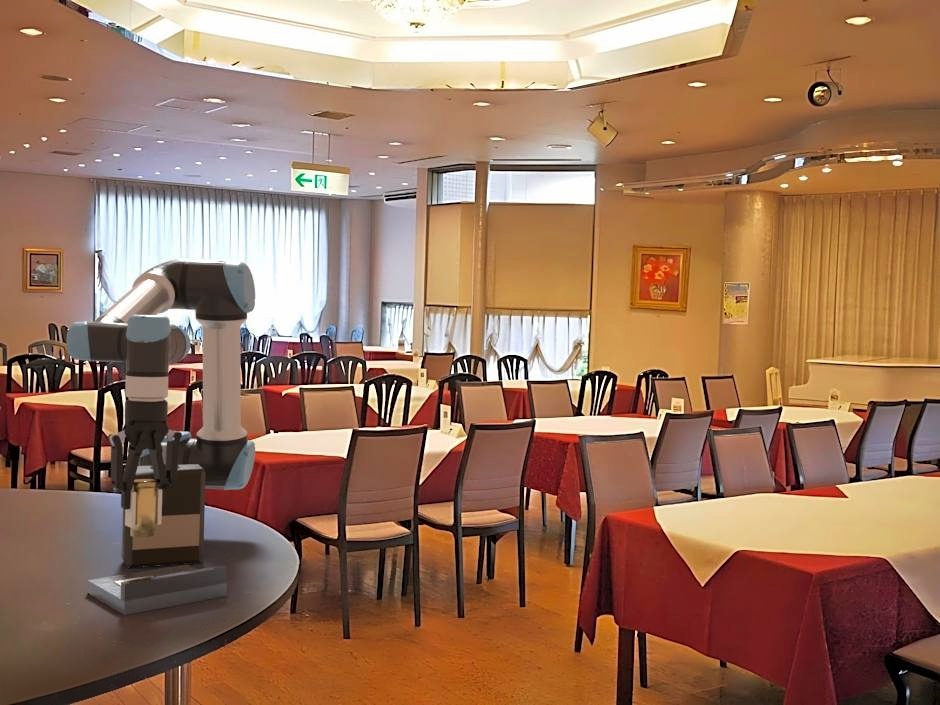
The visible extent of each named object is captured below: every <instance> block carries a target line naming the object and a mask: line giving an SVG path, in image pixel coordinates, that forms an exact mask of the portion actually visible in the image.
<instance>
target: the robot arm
mask: <svg viewBox="0 0 940 705" xmlns="http://www.w3.org/2000/svg"><path fill="white" fill-rule="evenodd" d="M251 271H252V270H251V268H250V267H249V266H248V264H247V263H245V262H243V261H239V260H230V259H205V258H204V259H202V258H201V259H197V258H196V259H195V258H194V259H193V258H176V259H171V260H168V261H165V262H162V263H160V264H157V265H155V266H152V267H151V268H149V269H147V270H146V271H144V272H142V273H141V274H140V275H139V276H138V277H136V279H135V280H134V282H133V284H132V287H131V289H130V290H128V291H127V292H126V293H125V294H124V295H123V296H122V297H120V298H119V299H118V300H117V301H115V303H113V304H112V305H111V306H110V307H109V308H108V309H106V310H105V311H104V312H103V313H101V315H99V317H97V318H96V319H95V320H94V321H88V320H84V321H75V322H72V323H71V325H70V326H69V328H68V331H67V334H66V349H67V352H68V354H69V356H70V357H71V358H72V359H74V360H77V361H88V363H89V362H109V363H115V362H116V363H125V391H124V392H125V393H124V395H125V397H126V398H128V399H126V400H125V402H124V426H123V427H122V430H121V431H119V432H117V433H114V434H113V433H110V434H109V435H108V436H107V440H108V442H109V445H110V487H112V488H114V489H116V490H120V507H121V509H122V510H123V509H125V525H126V526H128V527H130V528H135V517H136V492H135V491H132V488H133V484H134V479H135V475H136V471H137V467H138V466H153V471H154V477H155V480H157V495H156V524H157V525H160V524H161V519H162V505H165V504H166V490H167V489H169V487H170V485H172V484H176V482H177V467H178V465H189V464H199V465H200V466H201V467H202V468H203V469H204V471H205V473H206V476H205V489H209V490H210V489H211V490H224V491H228V490H241V489H243V488H245V487H247V486H246V485H248V482H249V480H250V478H251V476H252V472H253V469H254V464H255V459H256V458H255V457H256V444H255V441H252V440H248V431H247V430H246V429H245V428H244V427H243V426H242V424H241V422H242V421H241V419H242V418H241V416H242V412H241V410H242V409H241V408H242V406H241V403H242V402H241V399H242V397H241V394H242V393H241V390H242V389H241V386H242V384H241V381H242V380H241V364H242V363H241V354H242V353H241V348H242V347H241V339H242V338H241V335H242V334H241V332H242V331H241V330H242V329H241V326H242V325H243V324H244V323H245V322H246V321H247V320H248V314H249V313H251V312H253V311H254V309H255V304H256V301H255V300H256V287H255V281H254V277H253V273H252V272H251ZM168 310H188V311H189V310H193V311H195V320H196V321H197V322H198V323H199V324H200V325H201V326H202V330H201V331H202V332H201V333H202V406H203V407H202V413H203V414H202V415H203V417H202V423H203V424H202V427H201V428H200V429H199V430H198V431H197V432H196V438H192V434H191V432H190V431H184V430H183V431H176V430H172V429H170V427H169V426H168V425H169V424H168V421H167V420H168V406H169V402H168V401H167V399H166V398H167V397H169V371H170V368H169V367H170V365H174V364H176V363H178V362H180V361H182V360H183V359H184V358H186V357H187V356H188V354H189V352H190V350H191V345H192V343H191V338H190V336H189V334H188V332H187V331H186V330H185V329H184V328H182V327H181V326H179V325H176V324H171V323H170V322H171V321H170V318H169V317H168V316H166V315H160V314H163V313H165V312H167V311H168ZM158 314H159V315H158ZM125 439H126V441H127V442H128V448H127V457H126V462H125V466H124V446H123V444H124V443H125ZM161 443H167V446H166V468H165V467H164V462H163V456H162V452H163V450H162V445H161Z"/></svg>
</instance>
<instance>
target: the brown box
mask: <svg viewBox="0 0 940 705" xmlns="http://www.w3.org/2000/svg"><path fill="white" fill-rule="evenodd" d="M161 445H162V450H163V452H162V456H163V462H164V467H165V468H166V446H167V443H161ZM205 476H206V473H205V471H204V469H203V468H202V467H201V466H200V465H199V464H189V465H178V467H177V482H176V484H172V485H170V487H169V489H167V490H166V504H165V505H162V519H161V524H160V525H157V524H156V532H155V535H154V536H151V537H133V536H131V535H130V534H131V528H130V527H128V526H126V525H125V509H123V508H122V537H121V540H122V543H121V546H122V547H121V558H122V561H123V563H124V564H125V566H126V567H127V568H128V567H129V568H128V569H132V568H131V567H137V568H144V567H143V566H151V567H158V566H157V565H165V566H172V565H171V564H179V565H185V564H184V563H192V564H201V563H202V561H203V559H204V546H205V544H204V543H205V541H204V540H205V510H206V508H205V507H206V504H205V503H206V488H205ZM137 479H153V480H155V477H154V471H153V466H139V465H138V467H137V471H136V475H135V479H134V480H137ZM200 562H201V563H200Z"/></svg>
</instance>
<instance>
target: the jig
mask: <svg viewBox="0 0 940 705" xmlns="http://www.w3.org/2000/svg"><path fill="white" fill-rule="evenodd" d="M227 589H228V567H227V566H226V565H223V564H222V565H216V566H211V567H206V568H199V569H197V568H196V567H193V566H190V564H179V565H173V566H168V567H162V568H157V569H156V568H155V569H149V570H143V571H139V572H131V573H130V572H129V573H124V574H118V575H113V576H112V575H111V576H107V577H106V576H105V577H101V578H100V577H99V578H95V579H88V580H87V592H88V593H90V594H91V595H93V596H95V597H96V598H98V599H99V600H101V601H103V602H104V603H106V604H107V605H106V604H105V605H106V606H108V605H109V606H110V608H111V607H112V608H111V609H113V610H115V611H116V610H117V611H116V612H118V611H119V612H118V613H120V614H121V613H122V614H121V615H123V616H128V615H133V614H139V613H143V612H149V611H154V610H159V609H164V608H169V607H175V606H181V605H186V604H191V603H196V602H201V601H206V600H213V599H219V598H222V597H223V598H224V597H227V593H228V592H227V591H228V590H227ZM88 593H87V594H88ZM91 595H90V596H91ZM93 596H92V597H93ZM96 598H95V599H96ZM98 599H97V600H98ZM99 600H98V601H99ZM101 601H100V602H101ZM103 602H102V603H103ZM104 603H103V604H104ZM109 606H108V607H109ZM138 612H139V613H138ZM127 614H128V615H127Z"/></svg>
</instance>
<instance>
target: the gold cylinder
mask: <svg viewBox="0 0 940 705" xmlns="http://www.w3.org/2000/svg"><path fill="white" fill-rule="evenodd" d="M132 491H135V492H136V517H135V528H131V534H130V535H131V536H133V537H151V536H154V535H155V532H156V495H157V480H153V479H137V480H134V484H133V488H132Z"/></svg>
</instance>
